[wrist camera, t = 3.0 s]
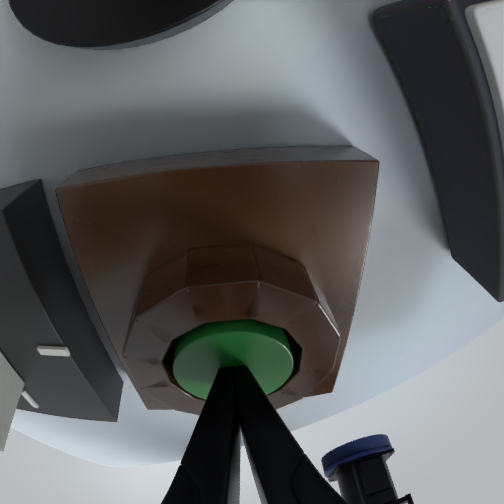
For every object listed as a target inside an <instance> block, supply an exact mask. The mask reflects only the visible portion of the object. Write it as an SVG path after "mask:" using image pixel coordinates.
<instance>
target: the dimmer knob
mask: <svg viewBox="0 0 504 504" xmlns="http://www.w3.org/2000/svg"><path fill="white" fill-rule="evenodd" d="M24 384H25V383H24V382H23V381H22V379H21V378H20V377H19V376H18V374H17V373H16V372H15V371H14V369H13V368H12V367H11V365H10V364H9V363H8V361H7V360H6V359H5V357H4V356H3V354H2V353H1V352H0V451H4V447H5V443H6V440H7V436H8V433H9V429H10V426H11V423H12V419H13V416H14V413H15V410H16V407H17V404H18V401H19V398H20V395H21V392H22V390H23V387H24Z"/></svg>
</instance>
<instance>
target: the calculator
mask: <svg viewBox="0 0 504 504" xmlns="http://www.w3.org/2000/svg"><path fill="white" fill-rule="evenodd" d="M373 22H374V24H375V26H376V28H377V30H378V32H379V34H380V36H381V38H382V40H383V42H384V44H385V46H386V48H387V50H388V52H389V54H390V56H391V58H392V60H393V62H394V65H395V67H396V69H397V71H398V73H399V76H400V78H401V80H402V83H403V85H404V87H405V90H406V92H407V95H408V97H409V100H410V102H411V105H412V107H413V110H414V113H415V115H416V118H417V121H418V124H419V127H420V130H421V133H422V136H423V139H424V142H425V145H426V148H427V151H428V154H429V158H430V161H431V165H432V168H433V172H434V176H435V179H436V183H437V187H438V191H439V195H440V200H441V204H442V208H443V213H444V218H445V223H446V228H447V233H448V239H449V245H450V251H451V256H452V258H453V259H454V260H455V261H456V262H457V263H458V264H459V265H460V266H461V267H463V268H464V269H465V270H466V271H467V272H468V273H469V274H470V275H471V276H472V277H473V278H474V279H475V280H476V281H477V282H478V283H479V284H480V285H481V286H482V287H483V288H484V289H486V290H487V291H488V292H489V293H490V294H491V295H492V296H493V297H494V298H495V299H496V300H497V301H498V302H502V301H504V0H401V1H398V2H395V3H391V4H388V5H385V6H383V7H380V8H378V9H376V10H375V11H374V13H373Z"/></svg>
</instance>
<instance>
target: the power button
mask: <svg viewBox="0 0 504 504" xmlns="http://www.w3.org/2000/svg"><path fill="white" fill-rule="evenodd" d="M242 365H246V366H248V367H249V369H250V370H251V372H252V374H253V375H254V377H255V378H256V380H257V382H258V383H259V385H260V386H261V388H262V390H263V391H264V393H265V394H266V395H267V394H269V393H271V392H273V391H275V390H276V389H277V388H279V387H280V386H281V385H282V384H284V383H285V381H286V380H287V379H288V378H289V376H290V374H291V372H292V369H293V356H292V353H291V349H290V345H289V341H288V337H287V334H286V330H285V329H284V328H280V327H277V326H273V325H270V324H266V323H263V322H260V321H256V320H253V319H240V320H229V321H217V322H206V323H204V324H202V325H200V326H198V327H196V328H194V329H192V330H191V331H189V332H187V333H185V334H183V335H181V336H179V337H177V338H175V346H174V358H173V373H174V376H175V378H176V380H177V382H178V383H179V384H180V386H181V387H183V388H184V389H185V390H186V391H188V392H189V393H191V394H193V395H195V396H197V397H200V398H203V399H207V396H208V394H209V391H210V389H211V386H212V384H213V381H214V379H215V376H216V374H217V371H218V369H219V368H221V367H233V368H234V367H235V366H242Z"/></svg>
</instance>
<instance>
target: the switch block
mask: <svg viewBox="0 0 504 504" xmlns="http://www.w3.org/2000/svg"><path fill="white" fill-rule="evenodd" d="M378 171H379V161H378V160H377V159H375V158H373V157H372V156H370V155H368V154H367V153H365V152H363V151H362V150H360V149H358V148H357V147H347V146H305V147H271V148H251V149H236V150H223V151H211V152H200V153H190V154H181V155H173V156H165V157H157V158H149V159H142V160H136V161H129V162H123V163H117V164H111V165H105V166H100V167H94V168H89V169H84V170H79V171H76V172H75V173H74V174H73V175H72V176H70V177H69V178H68V179H67V180H66V181H64V182H63V183H62V184H61V185H60V186H59V187H58V188H56V189H55V192H56V196H57V200H58V203H59V207H60V210H61V214H62V217H63V221H64V224H65V227H66V230H67V233H68V237H69V240H70V243H71V246H72V249H73V252H74V254H75V257H76V260H77V263H78V266H79V268H80V271H81V274H82V276H83V279H84V281H85V284H86V287H87V289H88V292H89V294H90V296H91V299H92V301H93V304H94V306H95V308H96V311H97V313H98V315H99V317H100V320H101V322H102V324H103V326H104V328H105V331H106V333H107V335H108V337H109V339H110V341H111V343H112V345H113V347H114V349H115V351H116V353H117V355H118V357H119V359H120V361H121V363H122V365H123V367H124V369H125V371H126V373H127V374H128V376H129V378H130V380H131V382H132V384H133V385H134V387H135V389H136V391H137V392H138V394H139V396H140V398H141V399H142V401H143V403H144V404H145V406H146V408H147V409H148V410H169V409H175V410H177V411H182V412H187V413H191V414H196V415H200V414H201V411H202V409H203V406H204V404H205V401H206V399H203V398H200V397H197V396H195V395H193V394H191V393H189V392H188V391H186V390H185V389H184V388H183V387H181V386H180V384H179V383H178V382H177V380H176V378H175V376H174V373H173V358H174V346H175V338H177V337H179V336H181V335H183V334H185V333H187V332H189V331H191V330H192V329H194V328H196V327H198V326H200V325H202V324H204V323H206V322H217V321H229V320H240V319H253V320H256V321H260V322H263V323H266V324H270V325H273V326H277V327H280V328H284V329H285V330H286V334H287V337H288V341H289V345H290V349H291V353H292V356H293V369H292V372H291V374H290V376H289V378H288V379H287V380H286V381H285V383H284V384H282V385H281V386H280V387H279V388H277V389H276V390H275V391H273V392H271V393H269V394H267V395H266V396H267V397H268V399H269V400H270V402H271V404H272V405H273V407H274V408H275V410H276V409H278V408H281V407H283V406H286V405H288V404H291V403H293V402H295V401H298V400H300V399H302V398H303V397H309V396H315V395H320V394H326V393H331V392H333V388H334V385H335V382H336V379H337V375H338V372H339V368H340V365H341V361H342V358H343V354H344V350H345V347H346V343H347V339H348V335H349V331H350V327H351V323H352V319H353V315H354V311H355V306H356V302H357V298H358V293H359V288H360V284H361V279H362V274H363V269H364V264H365V258H366V253H367V247H368V242H369V236H370V230H371V223H372V217H373V210H374V203H375V196H376V188H377V179H378Z"/></svg>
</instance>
